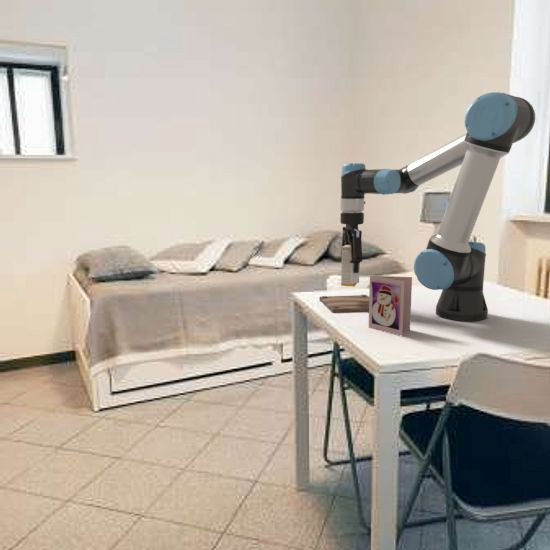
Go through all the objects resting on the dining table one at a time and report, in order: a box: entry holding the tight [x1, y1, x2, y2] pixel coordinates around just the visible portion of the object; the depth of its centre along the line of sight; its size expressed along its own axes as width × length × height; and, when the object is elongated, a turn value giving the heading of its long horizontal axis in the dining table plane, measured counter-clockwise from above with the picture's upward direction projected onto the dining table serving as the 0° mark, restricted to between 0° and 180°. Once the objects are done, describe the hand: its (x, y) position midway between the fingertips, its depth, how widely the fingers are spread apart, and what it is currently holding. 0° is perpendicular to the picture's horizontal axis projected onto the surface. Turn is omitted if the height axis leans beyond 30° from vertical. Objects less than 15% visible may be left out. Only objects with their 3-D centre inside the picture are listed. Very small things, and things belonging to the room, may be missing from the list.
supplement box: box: [340, 245, 358, 288], centre depth 175 cm, size 8×5×13 cm, turn 161°
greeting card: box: [368, 275, 413, 336], centre depth 147 cm, size 11×7×15 cm, turn 42°
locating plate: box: [319, 294, 369, 313], centre depth 177 cm, size 18×17×2 cm
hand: (350, 279), depth 176 cm, fingers closed on supplement box, 9 cm apart
